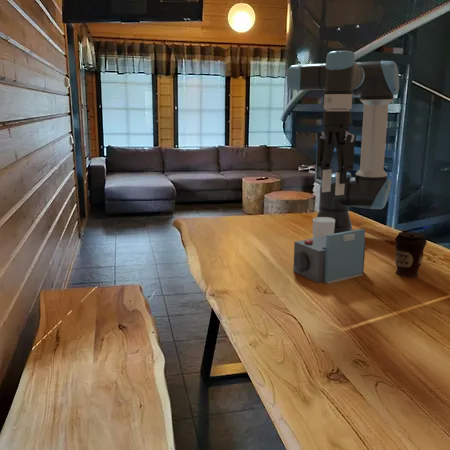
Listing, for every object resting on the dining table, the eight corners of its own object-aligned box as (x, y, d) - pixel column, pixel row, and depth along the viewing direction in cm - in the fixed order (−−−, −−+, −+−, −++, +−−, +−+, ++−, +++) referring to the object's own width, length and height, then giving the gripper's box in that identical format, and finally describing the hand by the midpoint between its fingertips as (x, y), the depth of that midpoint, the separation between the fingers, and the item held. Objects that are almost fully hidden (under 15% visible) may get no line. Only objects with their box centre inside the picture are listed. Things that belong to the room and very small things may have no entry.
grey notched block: (337, 263, 149) (339, 231, 146) (363, 273, 140) (365, 239, 137) (289, 273, 140) (291, 239, 137) (313, 285, 130) (315, 249, 128)
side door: (358, 275, 138) (362, 228, 135) (363, 277, 137) (367, 230, 133) (324, 283, 132) (326, 234, 128) (328, 285, 130) (331, 236, 127)
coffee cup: (407, 283, 132) (411, 239, 129) (385, 274, 139) (389, 232, 136) (428, 278, 136) (433, 235, 133) (405, 269, 143) (410, 229, 140)
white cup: (309, 248, 165) (310, 221, 163) (313, 242, 172) (315, 216, 170) (331, 250, 162) (333, 223, 160) (335, 244, 169) (336, 218, 167)
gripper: (305, 110, 134) (302, 189, 140) (350, 110, 119) (345, 199, 125) (325, 110, 137) (321, 187, 143) (371, 110, 122) (365, 197, 128)
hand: (332, 193), depth 134 cm, fingers open, 5 cm apart
